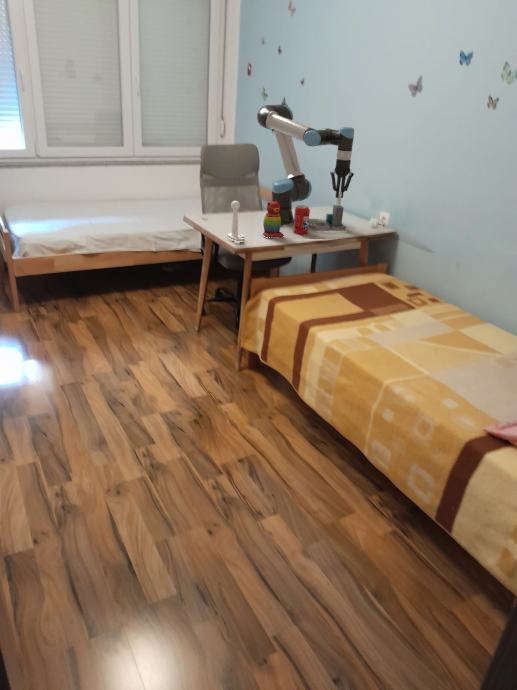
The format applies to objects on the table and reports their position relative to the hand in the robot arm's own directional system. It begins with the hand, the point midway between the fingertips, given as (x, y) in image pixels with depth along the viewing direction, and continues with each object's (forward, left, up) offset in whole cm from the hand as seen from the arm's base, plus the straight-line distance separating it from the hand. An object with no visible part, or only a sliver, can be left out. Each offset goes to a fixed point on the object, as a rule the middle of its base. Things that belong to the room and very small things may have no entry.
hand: (338, 203), depth 286 cm
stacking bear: (-38, -11, -15) cm, 43 cm away
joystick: (-58, -19, -15) cm, 63 cm away
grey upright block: (0, 0, -13) cm, 13 cm away
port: (0, +1, -13) cm, 13 cm away
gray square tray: (-4, 0, -14) cm, 15 cm away
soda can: (-22, -9, -15) cm, 28 cm away
